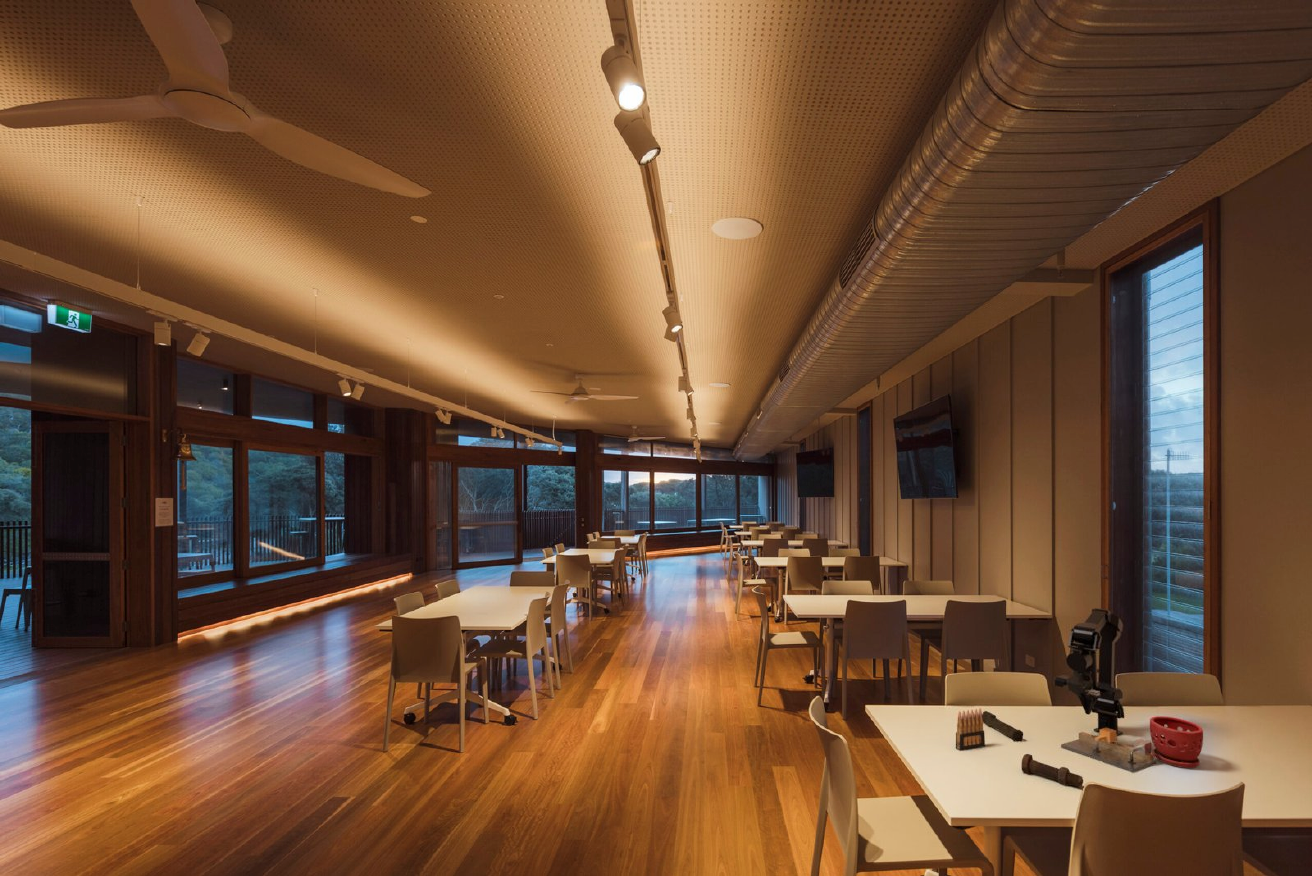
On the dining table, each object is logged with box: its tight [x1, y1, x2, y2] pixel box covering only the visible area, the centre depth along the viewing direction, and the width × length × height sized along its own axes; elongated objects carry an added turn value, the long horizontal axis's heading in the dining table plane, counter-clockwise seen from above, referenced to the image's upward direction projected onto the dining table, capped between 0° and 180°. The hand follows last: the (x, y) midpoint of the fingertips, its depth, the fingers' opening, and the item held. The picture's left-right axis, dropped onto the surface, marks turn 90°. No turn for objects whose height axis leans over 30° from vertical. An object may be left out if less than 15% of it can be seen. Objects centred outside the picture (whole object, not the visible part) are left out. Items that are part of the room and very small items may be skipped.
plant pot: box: [1149, 715, 1204, 769], centre depth 209 cm, size 13×13×12 cm
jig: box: [1060, 731, 1157, 773], centre depth 213 cm, size 14×21×6 cm, turn 29°
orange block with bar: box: [1095, 728, 1118, 750], centre depth 216 cm, size 9×3×5 cm, turn 119°
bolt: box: [1020, 753, 1084, 788], centre depth 194 cm, size 6×5×15 cm
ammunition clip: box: [955, 708, 986, 752], centre depth 218 cm, size 11×2×12 cm, turn 112°
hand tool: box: [982, 710, 1024, 742], centre depth 232 cm, size 19×4×5 cm, turn 6°
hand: (1087, 714), depth 219 cm, fingers closed
